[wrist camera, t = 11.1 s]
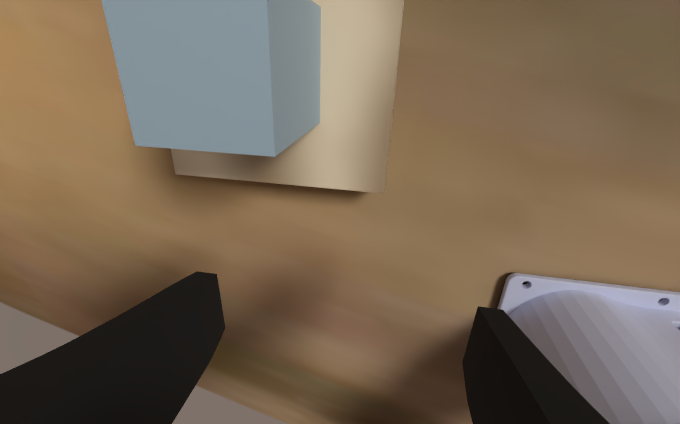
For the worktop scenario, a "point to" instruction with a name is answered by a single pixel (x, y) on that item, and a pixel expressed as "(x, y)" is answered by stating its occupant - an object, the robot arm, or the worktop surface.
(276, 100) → the blue block
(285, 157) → the birch base
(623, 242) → the worktop surface
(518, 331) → the robot arm
